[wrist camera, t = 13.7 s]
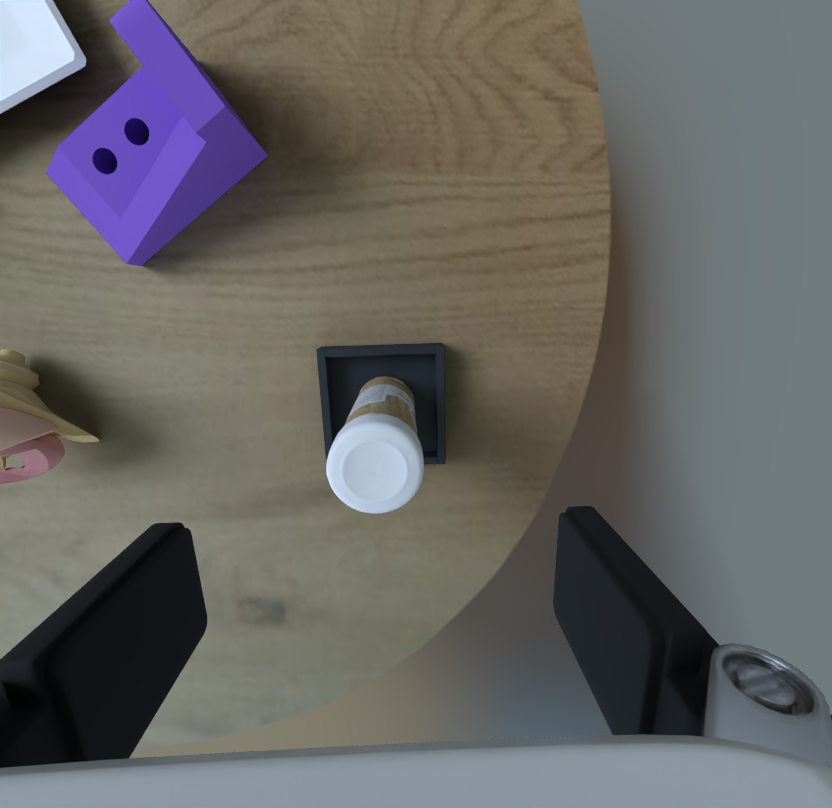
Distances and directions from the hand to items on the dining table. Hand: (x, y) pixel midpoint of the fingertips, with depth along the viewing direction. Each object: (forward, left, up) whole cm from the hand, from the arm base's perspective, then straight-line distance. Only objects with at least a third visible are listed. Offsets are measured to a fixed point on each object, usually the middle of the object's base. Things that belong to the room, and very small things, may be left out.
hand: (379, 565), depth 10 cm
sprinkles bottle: (+1, +1, -22) cm, 22 cm away
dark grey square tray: (+1, +1, -22) cm, 22 cm away
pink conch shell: (+27, +1, -22) cm, 35 cm away
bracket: (+15, -16, -22) cm, 31 cm away
